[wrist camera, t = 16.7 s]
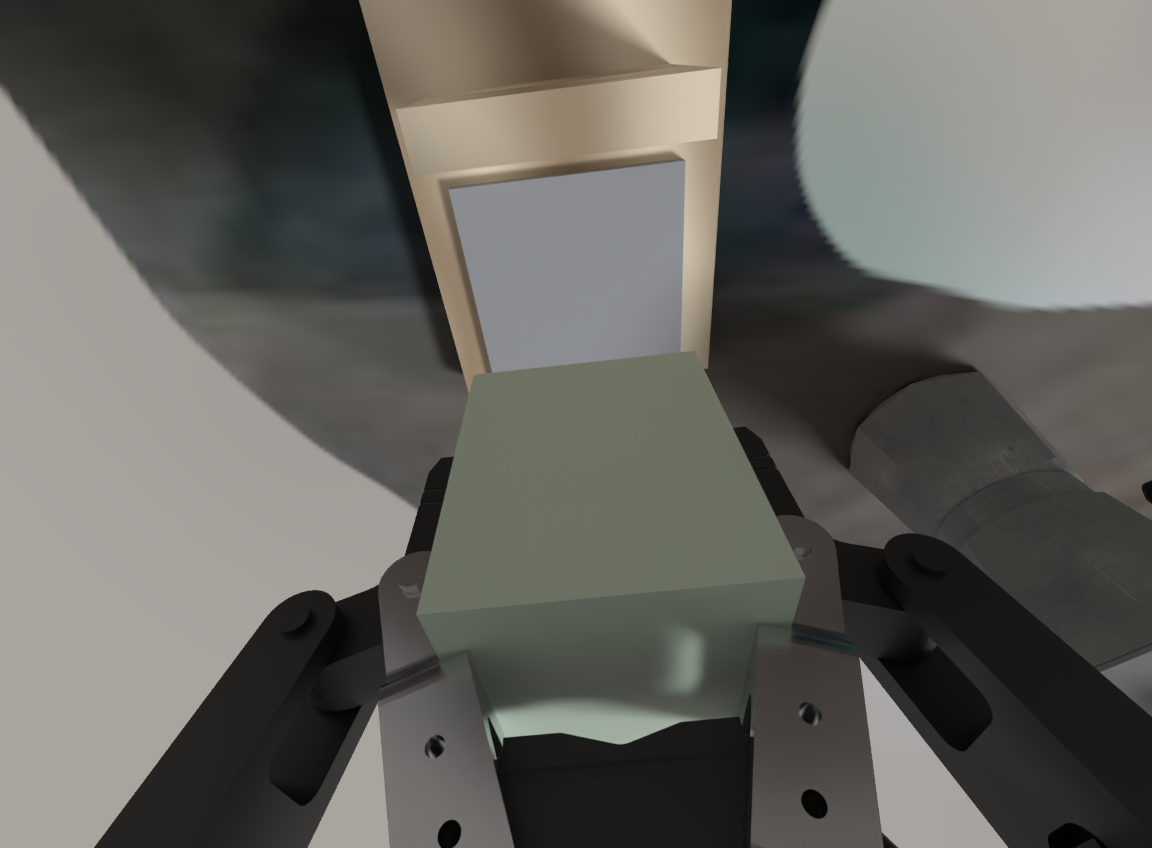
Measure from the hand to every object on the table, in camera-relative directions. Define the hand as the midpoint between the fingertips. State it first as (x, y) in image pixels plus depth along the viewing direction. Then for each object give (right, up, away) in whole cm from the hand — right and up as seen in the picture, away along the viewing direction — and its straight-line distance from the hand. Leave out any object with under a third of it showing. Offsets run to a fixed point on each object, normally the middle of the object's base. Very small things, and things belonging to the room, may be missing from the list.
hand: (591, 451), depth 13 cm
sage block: (0, 0, 0) cm, 0 cm away
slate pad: (0, +7, +9) cm, 11 cm away
